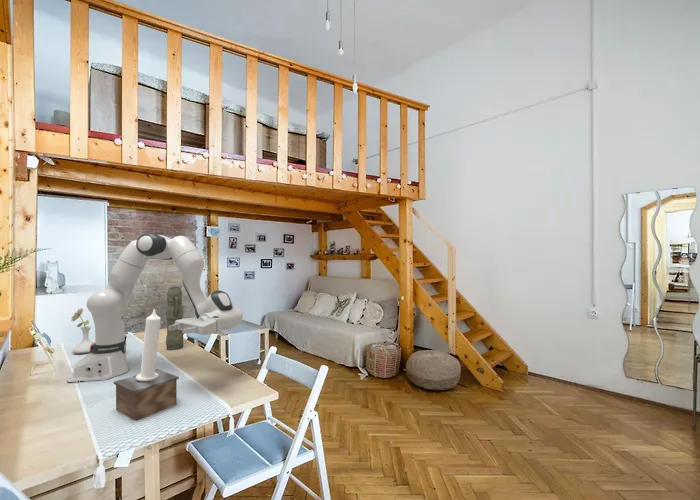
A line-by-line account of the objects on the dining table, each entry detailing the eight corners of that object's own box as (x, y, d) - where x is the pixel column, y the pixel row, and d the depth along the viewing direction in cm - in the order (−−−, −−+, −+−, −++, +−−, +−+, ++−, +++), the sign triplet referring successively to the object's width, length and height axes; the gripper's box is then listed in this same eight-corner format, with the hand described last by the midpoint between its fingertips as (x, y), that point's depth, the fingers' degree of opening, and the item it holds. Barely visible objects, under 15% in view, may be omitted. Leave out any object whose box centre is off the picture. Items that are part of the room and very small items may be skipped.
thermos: (179, 344, 203) (179, 286, 203) (186, 348, 194) (186, 287, 194) (163, 347, 197) (163, 287, 197) (169, 351, 188) (169, 288, 188)
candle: (142, 383, 117) (149, 311, 117) (131, 377, 121) (139, 308, 121) (162, 377, 123) (169, 309, 124) (151, 372, 127) (158, 306, 127)
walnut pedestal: (134, 421, 111) (134, 391, 111) (113, 409, 119) (113, 381, 119) (178, 404, 124) (178, 376, 124) (157, 394, 132) (157, 369, 132)
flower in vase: (86, 348, 194) (86, 305, 194) (103, 349, 193) (103, 305, 193) (64, 355, 181) (63, 309, 181) (82, 356, 180) (82, 309, 180)
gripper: (193, 313, 148) (161, 318, 137) (223, 318, 137) (191, 324, 125) (193, 327, 148) (161, 334, 137) (223, 333, 137) (191, 341, 125)
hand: (176, 329), depth 131 cm, fingers open, 8 cm apart
